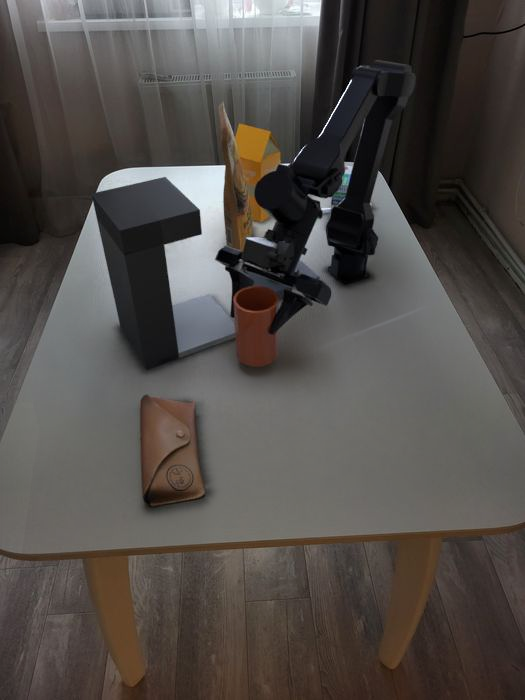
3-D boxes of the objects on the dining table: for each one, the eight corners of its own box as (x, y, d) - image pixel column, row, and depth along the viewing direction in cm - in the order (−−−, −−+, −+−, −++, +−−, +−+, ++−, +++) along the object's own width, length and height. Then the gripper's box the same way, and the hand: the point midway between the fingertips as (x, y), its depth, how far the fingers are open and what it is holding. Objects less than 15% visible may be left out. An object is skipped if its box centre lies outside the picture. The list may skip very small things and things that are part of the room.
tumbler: (265, 334, 96) (266, 281, 88) (285, 358, 91) (286, 304, 84) (229, 346, 93) (226, 292, 86) (247, 371, 89) (245, 317, 81)
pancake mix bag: (218, 264, 117) (209, 129, 98) (226, 220, 131) (219, 95, 113) (250, 265, 117) (247, 129, 98) (254, 221, 131) (252, 96, 113)
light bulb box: (356, 231, 127) (363, 187, 120) (327, 228, 128) (331, 184, 121) (360, 208, 135) (366, 166, 128) (332, 206, 136) (336, 163, 129)
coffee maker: (209, 298, 108) (199, 168, 91) (241, 335, 99) (236, 200, 82) (120, 327, 101) (91, 193, 84) (146, 370, 92) (119, 230, 75)
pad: (295, 264, 117) (295, 248, 114) (319, 286, 111) (320, 269, 108) (244, 281, 112) (244, 264, 110) (267, 304, 106) (267, 286, 104)
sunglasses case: (209, 495, 73) (179, 472, 69) (166, 518, 75) (134, 497, 71) (195, 398, 87) (169, 375, 82) (159, 419, 88) (132, 397, 84)
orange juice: (250, 200, 139) (249, 118, 126) (279, 210, 135) (281, 126, 122) (231, 212, 134) (228, 128, 121) (261, 222, 130) (260, 137, 117)
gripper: (218, 197, 83) (177, 294, 83) (328, 232, 75) (282, 339, 76) (250, 223, 93) (213, 309, 94) (349, 257, 85) (309, 350, 86)
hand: (251, 325), depth 87 cm, fingers closed on tumbler, 7 cm apart
